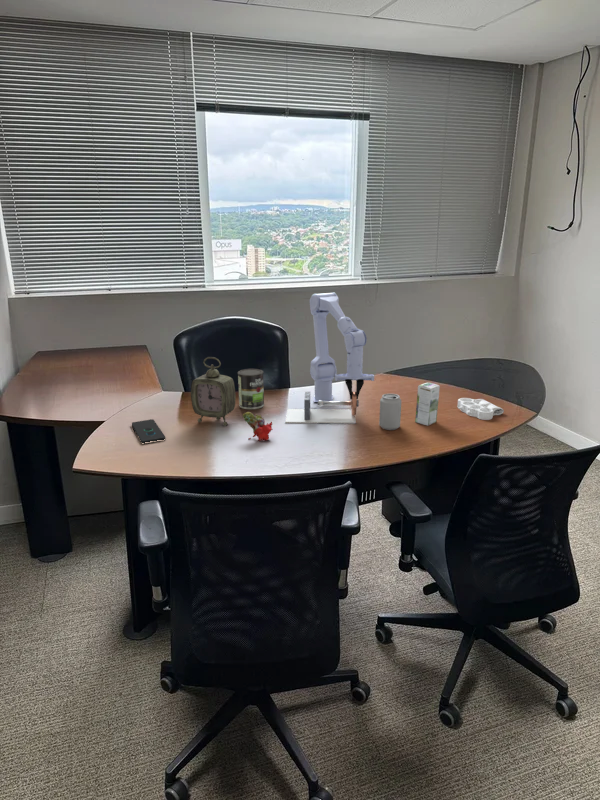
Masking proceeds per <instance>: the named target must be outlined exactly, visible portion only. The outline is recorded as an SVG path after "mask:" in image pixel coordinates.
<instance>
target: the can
mask: <svg viewBox="0 0 600 800" xmlns="http://www.w3.org/2000/svg"><path fill="white" fill-rule="evenodd" d="M401 412H402V399H401V397H400V395H399V394H397V393H384V394H382V395H381V398H380V400H379V417H378V418H379V420H378V421H379V422H378V426H379V427H381V429H383V430H387V431H394V430H398V428H400V427H401V417H402V413H401Z"/></svg>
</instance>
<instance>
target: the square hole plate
mask: <svg viewBox="0 0 600 800" xmlns="http://www.w3.org/2000/svg"><path fill="white" fill-rule="evenodd" d="M303 403H304V407H303V409H304V420H310V409H311V391H304V401H303Z"/></svg>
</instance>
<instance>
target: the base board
mask: <svg viewBox="0 0 600 800" xmlns="http://www.w3.org/2000/svg"><path fill="white" fill-rule="evenodd" d="M317 423H344V424H345V425H346V424H347V425H349V424H350V425H351V424H352V425H355V424H357V422H356V415H352V414H351V409H348V408H347V409H346V408H345V409H343V408H341V409H340V408H339V409H338V408H336V409H332V408H328V409H327V408H325V409H324V408H318V409H317V408H310V420H304V408H287V411H286V416H285V422H284V424H317Z"/></svg>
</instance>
